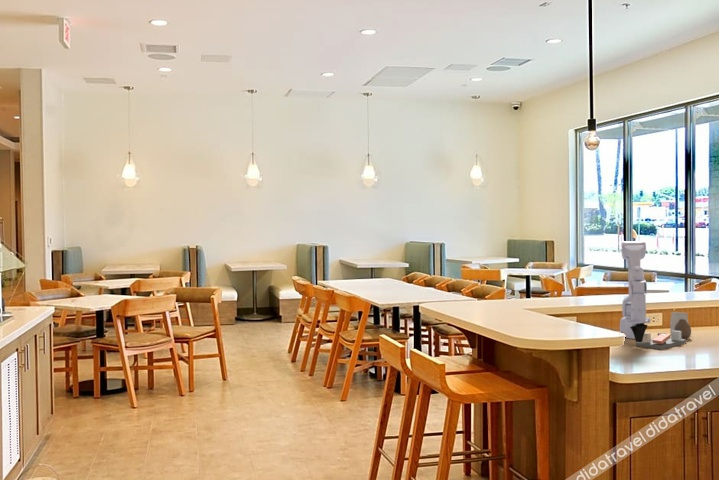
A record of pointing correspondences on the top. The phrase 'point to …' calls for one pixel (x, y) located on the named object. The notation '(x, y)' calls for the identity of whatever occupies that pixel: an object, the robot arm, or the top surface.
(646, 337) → the slotted cream block
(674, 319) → the grey rectangular block
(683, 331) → the vase
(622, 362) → the top surface
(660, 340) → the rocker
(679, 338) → the slotted white box
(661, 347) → the console
